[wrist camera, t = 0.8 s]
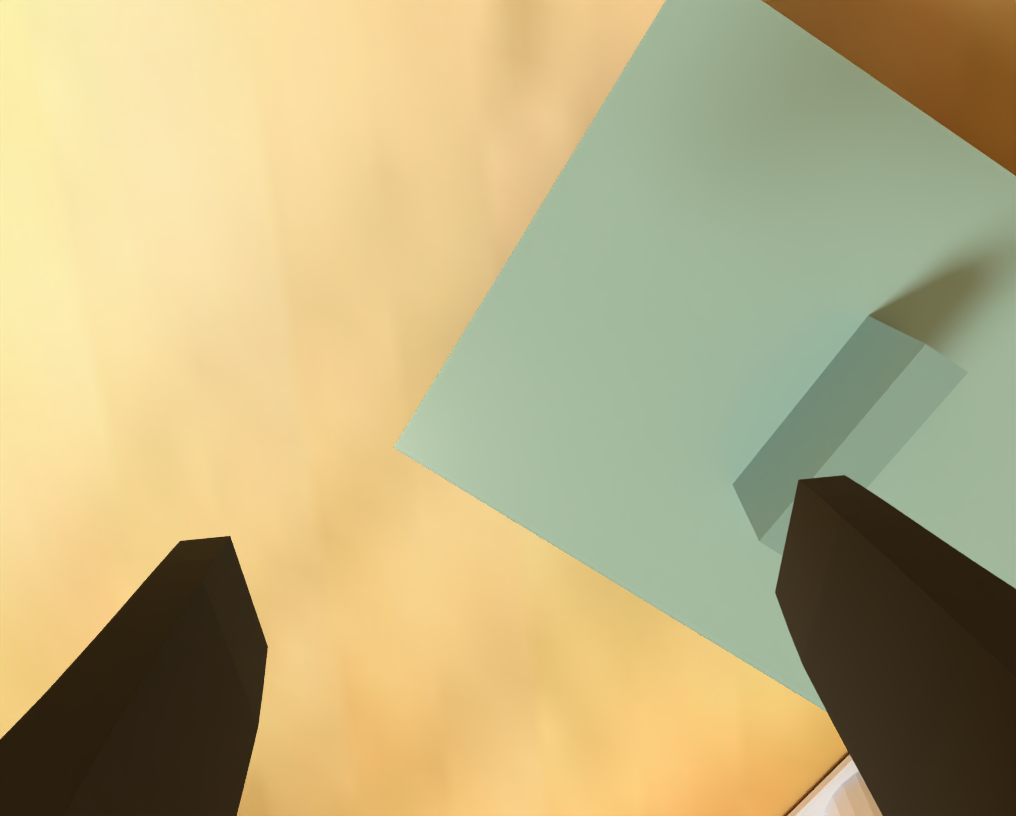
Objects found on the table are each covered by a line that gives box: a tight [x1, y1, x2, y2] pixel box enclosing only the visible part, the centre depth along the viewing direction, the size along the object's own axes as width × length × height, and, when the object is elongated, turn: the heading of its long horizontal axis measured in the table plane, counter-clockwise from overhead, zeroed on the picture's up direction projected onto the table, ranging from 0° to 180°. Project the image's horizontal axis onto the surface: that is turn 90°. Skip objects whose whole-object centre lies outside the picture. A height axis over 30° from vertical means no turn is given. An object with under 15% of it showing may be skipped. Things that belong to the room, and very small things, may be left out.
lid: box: [394, 0, 1016, 712], centre depth 20 cm, size 19×15×5 cm
